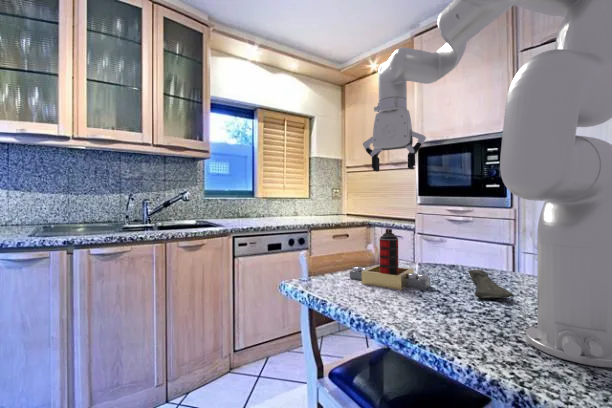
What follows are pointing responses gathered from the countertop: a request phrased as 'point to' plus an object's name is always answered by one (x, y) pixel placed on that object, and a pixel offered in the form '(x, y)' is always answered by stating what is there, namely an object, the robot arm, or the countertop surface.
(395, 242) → the grenade
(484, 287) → the tool
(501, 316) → the countertop surface
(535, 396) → the countertop surface
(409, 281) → the chain joint
